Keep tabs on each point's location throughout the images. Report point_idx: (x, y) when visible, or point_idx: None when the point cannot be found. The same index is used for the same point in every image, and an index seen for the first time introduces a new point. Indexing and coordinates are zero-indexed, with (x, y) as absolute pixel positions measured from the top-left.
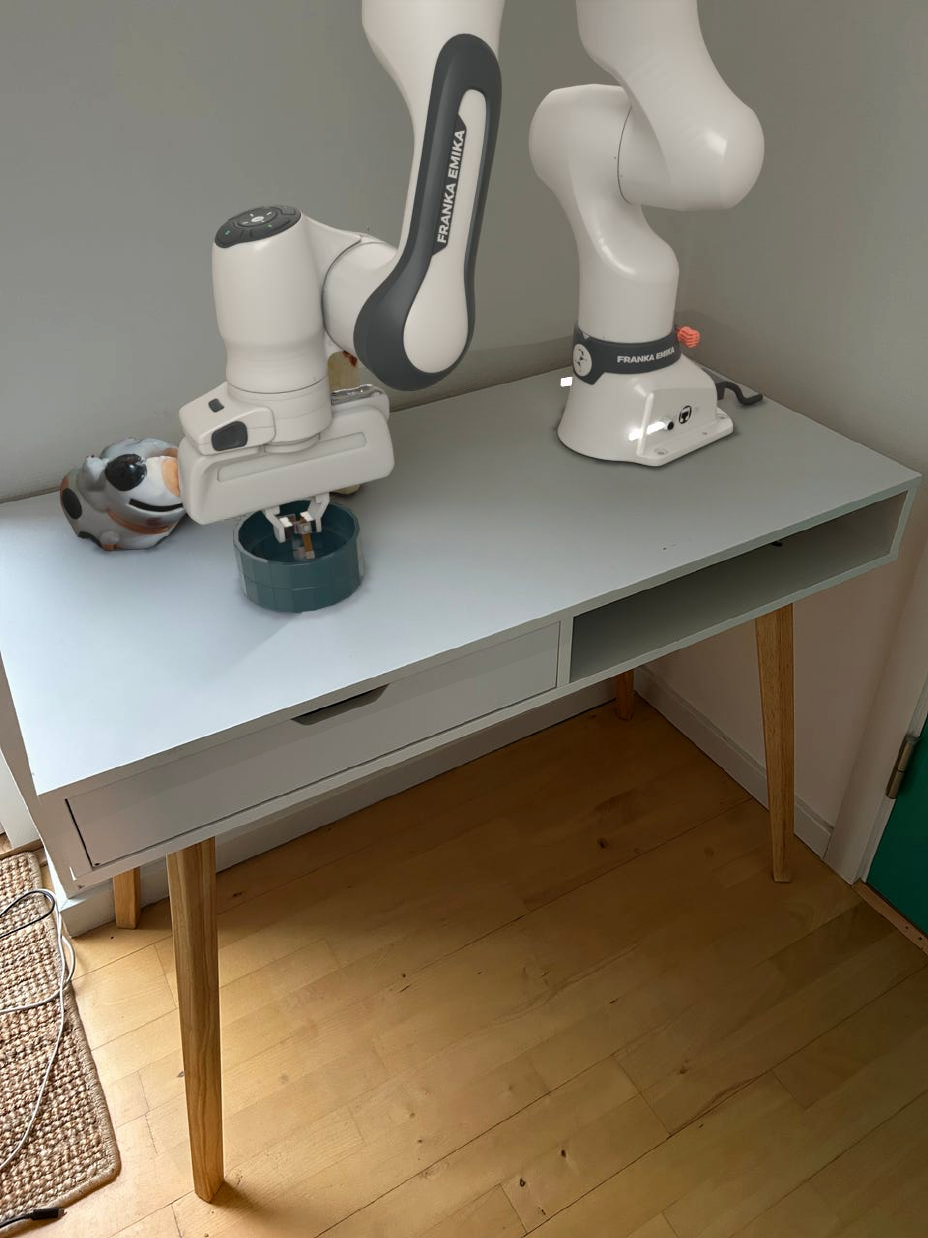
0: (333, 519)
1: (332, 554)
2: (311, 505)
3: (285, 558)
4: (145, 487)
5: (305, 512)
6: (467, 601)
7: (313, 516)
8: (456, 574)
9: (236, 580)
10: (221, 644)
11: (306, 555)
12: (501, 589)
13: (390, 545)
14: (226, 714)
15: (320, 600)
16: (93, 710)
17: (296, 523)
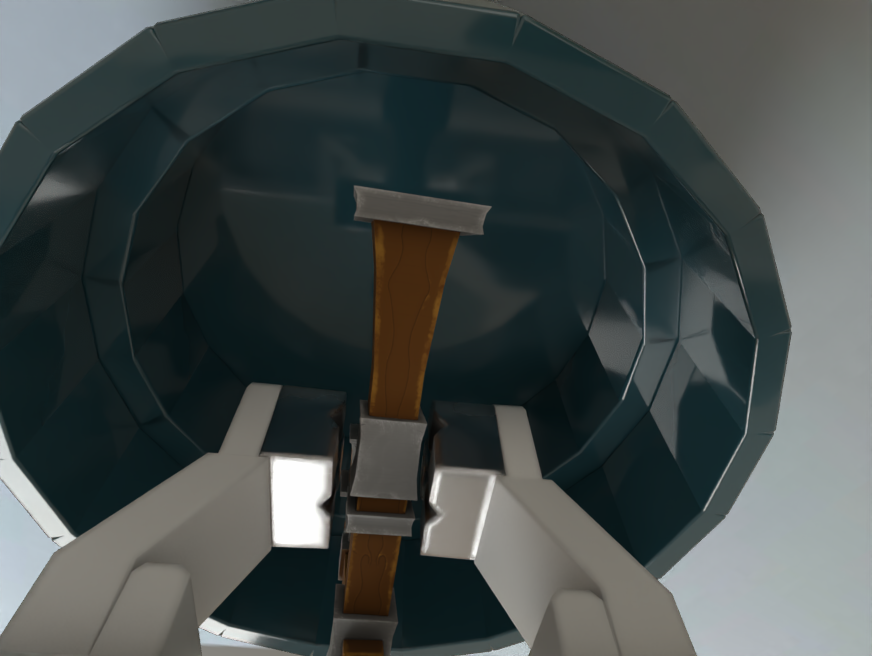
0: (696, 263)
1: (424, 653)
2: (526, 534)
3: (392, 109)
4: None
5: (474, 479)
6: (718, 585)
7: (482, 555)
8: (809, 500)
9: None
10: None
11: (339, 563)
12: (821, 590)
13: (826, 260)
14: (2, 615)
15: None
16: None
17: (360, 531)
